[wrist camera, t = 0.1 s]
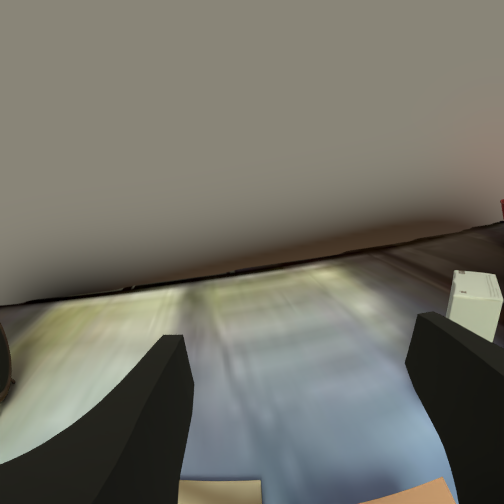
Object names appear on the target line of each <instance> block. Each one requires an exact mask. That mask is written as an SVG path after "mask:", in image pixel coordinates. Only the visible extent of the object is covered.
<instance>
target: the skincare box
mask: <svg viewBox="0 0 504 504" xmlns="http://www.w3.org/2000/svg"><path fill="white" fill-rule="evenodd" d="M502 303H503V297H502V294H501V291H500V288H499V285H498V282H497V279H496V276H495V275H494V274H488V273H479V272H470V271H460V270H455V271H454V275H453V282H452V288H451V293H450V299H449V304H448V309H447V313H446V318H448V319H450V320H452V321H454V322H456V323H458V324H459V325H461V326H463V327H465V328H467V329H468V330H470V331H472V332H474V333H475V334H477V335H479V336H481V337H483V338H484V339H486V340H488V341H490V342H493V338H494V334H495V331H496V327H497V323H498V319H499V315H500V311H501V307H502Z"/></svg>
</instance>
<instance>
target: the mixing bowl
mask: <svg viewBox="0 0 504 504" xmlns="http://www.w3.org/2000/svg"><path fill="white" fill-rule="evenodd" d="M500 202H501V204H502V212H503V218H504V199H503V200H501V201H500Z"/></svg>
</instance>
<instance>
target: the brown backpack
mask: <svg viewBox="0 0 504 504" xmlns="http://www.w3.org/2000/svg"><path fill="white" fill-rule="evenodd" d="M10 382H12V383H13V384H15V380H13V379H12V378H11V356H10V350H9V345H8V341H7V338H6V335H5V332H4V330H3V327H2V325H1V323H0V402H1V401H3V400H4V398H5V397H6V395H7V393H8V390H9V387H10Z"/></svg>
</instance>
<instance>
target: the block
mask: <svg viewBox="0 0 504 504" xmlns="http://www.w3.org/2000/svg"><path fill="white" fill-rule="evenodd" d="M359 504H456V503H455V501H454V499H453V497H452V495H451V493H450V491H449V489H448V487H447V485H446V483H445V481H444V479H443V477H441V478H438V479H436V480H433V481H430V482H428V483H425V484H422V485H420V486H417V487H414V488H411V489H408V490H405V491H402V492H399V493H396V494H392V495H389V496H386V497H382V498H379V499H375V500H371V501H367V502H363V503H359Z"/></svg>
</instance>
